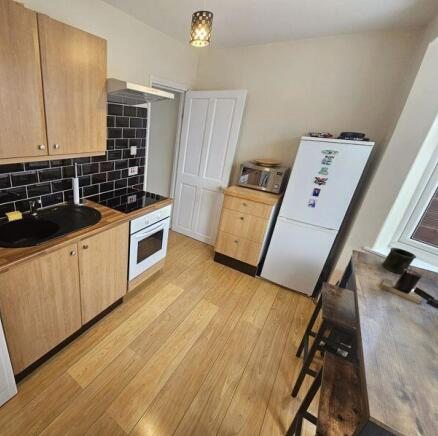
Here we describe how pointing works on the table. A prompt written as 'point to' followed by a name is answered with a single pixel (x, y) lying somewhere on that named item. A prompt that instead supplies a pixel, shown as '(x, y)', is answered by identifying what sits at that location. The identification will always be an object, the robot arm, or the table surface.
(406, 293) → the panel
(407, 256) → the mug
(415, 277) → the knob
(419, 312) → the table surface
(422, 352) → the table surface
